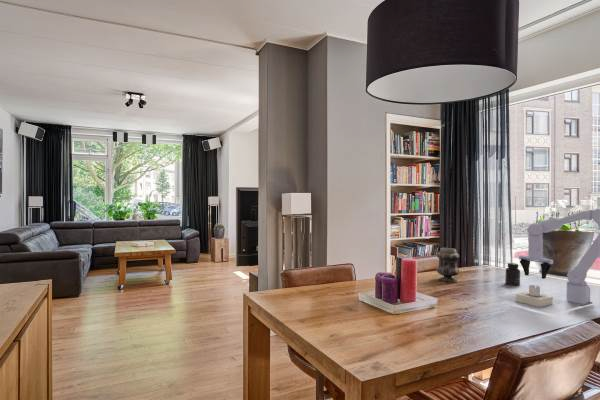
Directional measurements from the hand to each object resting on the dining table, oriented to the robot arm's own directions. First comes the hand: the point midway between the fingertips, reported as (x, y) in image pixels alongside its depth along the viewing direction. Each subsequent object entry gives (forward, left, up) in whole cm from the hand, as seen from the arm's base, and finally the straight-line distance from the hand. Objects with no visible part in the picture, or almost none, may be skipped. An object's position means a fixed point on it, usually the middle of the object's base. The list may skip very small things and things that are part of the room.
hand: (535, 276), depth 172 cm
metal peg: (+14, +7, -8) cm, 18 cm away
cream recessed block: (+10, +4, -9) cm, 14 cm away
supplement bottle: (-11, -17, -10) cm, 22 cm away
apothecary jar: (+9, -42, -10) cm, 44 cm away
